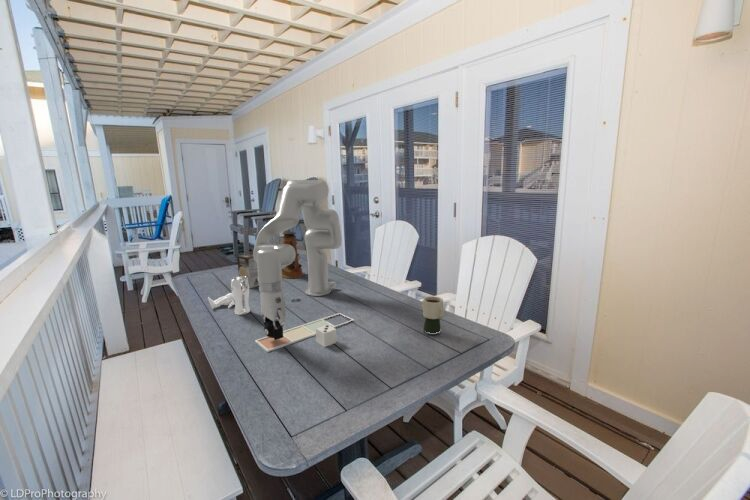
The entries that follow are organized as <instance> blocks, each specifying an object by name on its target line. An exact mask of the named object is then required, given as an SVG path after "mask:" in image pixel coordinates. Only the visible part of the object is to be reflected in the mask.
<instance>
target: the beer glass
mask: <svg viewBox="0 0 750 500" xmlns="http://www.w3.org/2000/svg"><path fill="white" fill-rule="evenodd" d="M230 289H231V293H232V295H233V299H234V302H235V304H234V314H235V315H237V316H243V315H246V314H249V313H250V312H251V309H250V306H249V298H250V297H249V296H250V288H249V282H248V277H247V276H239V275H237V276H233V277H232V278H230Z"/></svg>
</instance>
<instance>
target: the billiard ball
mask: <svg viewBox="0 0 750 500" xmlns="http://www.w3.org/2000/svg"><path fill="white" fill-rule="evenodd" d="M277 323H279V320H278V321H276V325H277ZM273 329H274V325H273V321H272V320H270V321H268V322H267V323H266V325H265V327H263V331H264V335H266V337H267V336H268V337H270V338H274V334H273Z"/></svg>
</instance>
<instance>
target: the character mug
mask: <svg viewBox="0 0 750 500" xmlns="http://www.w3.org/2000/svg"><path fill="white" fill-rule="evenodd" d="M421 308H422V315H423V317H424V318H425V319H424V320H425V321H424V324H423V330H425V331H426V332H430V333H436V332H439V331H440V329H441V318H445V316H446V314H445V313H446V309H445V308H444V299H443V298H442V297H439V296H433V295H432V296H431V295H429V296H425V297H423V300H422V301H421Z"/></svg>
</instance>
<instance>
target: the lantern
mask: <svg viewBox="0 0 750 500" xmlns="http://www.w3.org/2000/svg"><path fill="white" fill-rule="evenodd" d="M281 233H282V235H283V238H282V242H283V243H281V244H288V245H291V246H293V247H294V249H295V251H296V257H295V260H294V261H293V262H292V263H291V264H290V265H287V266H283V268H281V272H282V279H298V278H301V277H303V276H304V275H303V274H304V273H303V268H302V267H303V266H302V265H303V264H301V263H299V260H300V258H299V257H300V256H299V255H300V253H298V249H297V244H298V242H297V238H296V234H297V233H296V231H291V230H290V229H288V230H287V231H284V232H281ZM302 275H303V276H302Z"/></svg>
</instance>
